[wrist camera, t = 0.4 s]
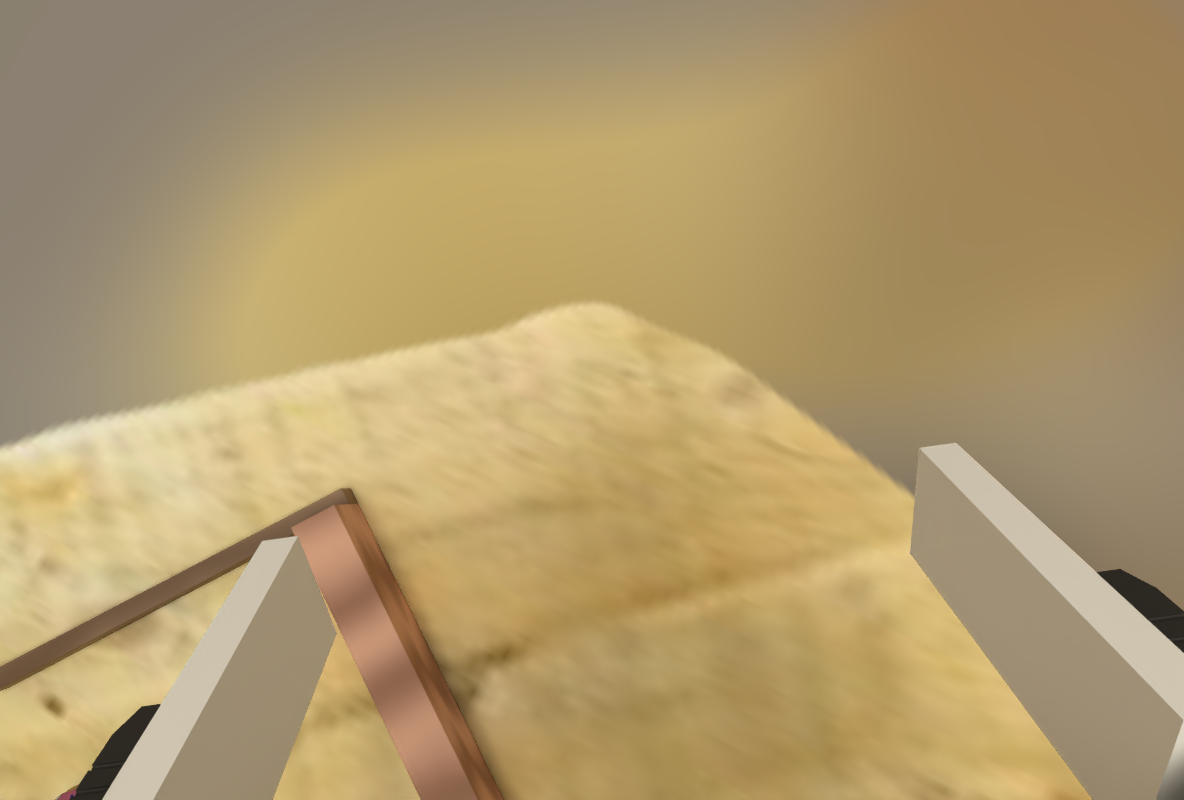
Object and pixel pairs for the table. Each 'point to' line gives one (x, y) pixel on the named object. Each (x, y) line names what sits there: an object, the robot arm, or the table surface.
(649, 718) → the table surface
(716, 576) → the table surface
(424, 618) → the table surface
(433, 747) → the brown wooden open frame
